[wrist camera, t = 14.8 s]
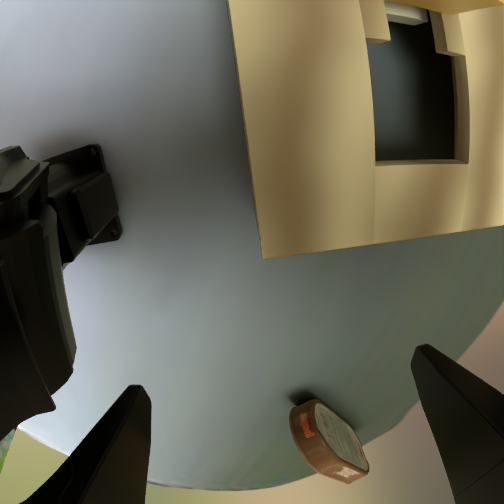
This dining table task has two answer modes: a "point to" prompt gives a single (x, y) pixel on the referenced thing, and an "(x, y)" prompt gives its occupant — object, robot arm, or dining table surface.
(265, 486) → the dining table surface
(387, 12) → the mustard yellow block
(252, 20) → the keyhole board
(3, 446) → the tea box
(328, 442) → the tin
